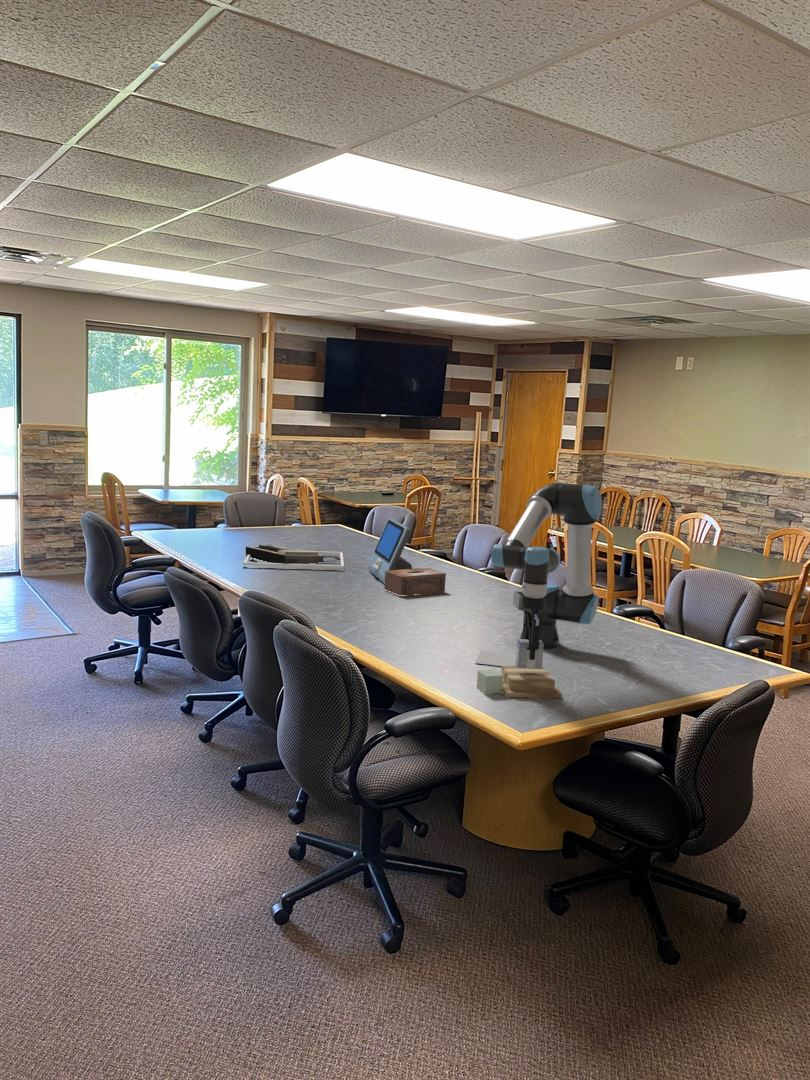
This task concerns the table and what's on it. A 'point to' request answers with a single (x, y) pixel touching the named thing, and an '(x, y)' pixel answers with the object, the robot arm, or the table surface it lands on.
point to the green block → (489, 681)
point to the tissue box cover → (415, 581)
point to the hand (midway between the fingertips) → (528, 665)
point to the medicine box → (522, 654)
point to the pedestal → (528, 683)
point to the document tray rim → (300, 564)
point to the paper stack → (496, 658)
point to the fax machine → (284, 555)
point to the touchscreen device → (390, 550)
